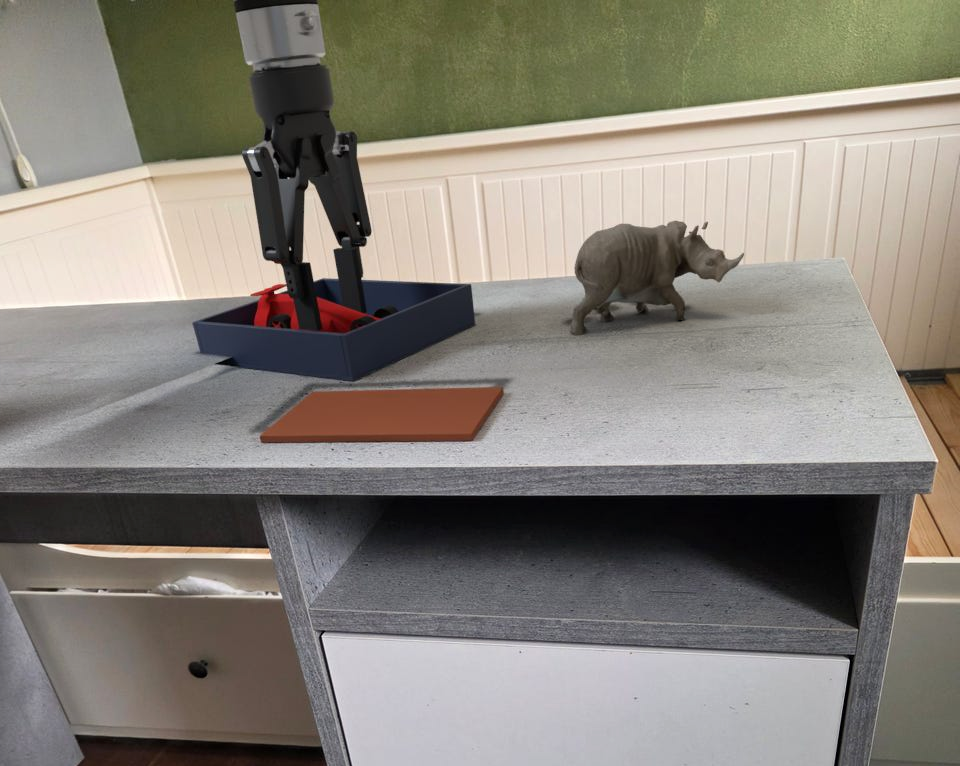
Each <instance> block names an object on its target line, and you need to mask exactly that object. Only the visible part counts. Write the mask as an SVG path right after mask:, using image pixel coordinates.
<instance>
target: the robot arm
mask: <svg viewBox="0 0 960 766" xmlns="http://www.w3.org/2000/svg"><path fill="white" fill-rule="evenodd" d="M135 1H137V0H131V2H135ZM318 4H319V3H318V0H233V6H234V12H235V16H236V20H237V25H238V31H239V37H240V41H241V47H242V51H243V57H244V62H245V64H247V65H248V66H252V70H253V72H250V74H249V75H250V77H248V82H249V85H250V91H251V95H252V101H253V106H254V111H255V114H256V116H258V117H259V118H260V119H261V120H262V123H263V134H262V141H261V142H260V143H258V144H256V145H255V146H251V147H249V146H247V147H243V149H242V151H241V156H242V159H243V161H244V164H245V166H246V169H247V171H248V174H249V176H250V183H251V189H252V194H253V201H254V207H255V215H256V220H257V228H258V234H259V239H260V246H261V247H260V248H261V251H262V252H261V254H262V257H263V259H264V260H265V261H267V262H273V263H274V264H276V265H280V266H281V268H282V271H283V277H284V280H285V284H286V286H285V287H286V291H288V294H289V296H290V298H293V300H294V305H295V310H296V315H297V320H298V325H299V329H304V330H315V331H318V330H321V329H323V328H322V323H321V318H320V312H319V307H318V302H317V296H316V291H315V286H314V281H315V280H314V276H313V271H312V266H311V265H312V264H311V262H308V261H307V262H304V237H305V236H304V233H305V232H304V230H305V201H306V200H305V197H306V196H305V195H306V190H307V189H308V188H309V184H312V185H313V186H314V188H315V190H316V193H317V195H318V197H319V200H320V202H321V205H322V207H323V210H324V213H325V215H326V217H327V220H328V222H329V225H330V227H331V230H332V232H333V235H334V237H335V239H336V242H337V244H338V246H339V247H336V248H334V249H332V250H333V257H334V262H335V268H336V273H337V274H336V275H337V279H338V280H339V285H340V291H341V297H342V303H343V306H344V307H347V308H350V309H352V310H355V311H358V312H361V313H366V312H367V310H366V304H365V298H364V292H363V285H362V280H363V279H362V278H364V268H363V262H362V256H361V250H360V248H364V247H366V246H367V243H368V239H367V238H369V237H371V236H372V231H373V230H372V224H371V221H370V215H369V210H368V206H367V200H366V195H365V190H364V185H363V180H362V175H361V170H360V166H359V162H358V136H357V133H356V132H355V131H352V130H351V131H339V130H337V129H336V128H335V125H334V123H333V121H332V119H331V116H330V112H331V110H332V109H333V108H334V106H335V98H334V92H333V87H332V79H331V73H330V68H327V65H326V64H321V58H324V57H325V56H326V54H327V52H326V45H325V39H324V35H323V34H324V33H323V27H322V21H321V15H320V8H319V5H318ZM309 182H310V183H309Z"/></svg>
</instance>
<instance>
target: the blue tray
mask: <svg viewBox="0 0 960 766" xmlns="http://www.w3.org/2000/svg"><path fill="white" fill-rule="evenodd" d="M313 281H314V286H315V291H316V296H317V297H318V298H321V299H324V300H327V301H330V302H333V303H336V304H338V305H341V306H343V303H342V297H341V291H340V285H339V280H338V278H327V277H322V278H320V279H317V280H313ZM362 285H363V292H364V298H365V304H366V310H367V312H366V313H364V314H366V315H370V316H373V315H374V313H375V312H376V310H378V309H380V308H382V307H384V306H387V305H390V306H393V307H395V308H396V309H397V310H398V311H399V312H397V313H394V314H392V315H389V316H387V317H384V318H382V319H379V320H377V321H375V322H372V323H370V324H367V325H365V326H362V327H360V328H357V329H355V330H352V331H350V332H347V333H345V334H344V333H333V332H321V331H309V330H297V329H285V328H274V327H262V326H255V325H254V321H255V316H256V313H257V309H258V301H259V299H257V300H254V301H251V302H248V303H245V304H242V305H239V306H235V307H234V308H231V309H227V310H224V311H221V312H219V313H216V314H212V315H209V316H207V317H204V318H200V319H197V320H195V321H192V322H191V323H192V327H193V331H194V334H195V338H196V341H197V345H198V349H199V352H200V354H204V355H212V356H213V355H214V356H222V357H228V358H226V359H223V360H221V361H218V362H215V363H214V365H219V366H225V367H226V366H227V367H234V368H240V369H241V368H242V369H250V370H259V371H267V372H275V373H283V374H291V375H299V376H308V377H315V378H323V379H332V380H339V381H346V382H347V381H349V382H356V381H358V380H360V379H362V378H364V377H366V376H368V375H370V374H373V373H374V372H377V371H379V370H382V369H383V368H386V367H388V366H390V365H392V364H394V363H396V362H399V361H400V360H403V359H405V358H407V357H409V356H411V355H414V354H416V353H418V352H420V351H422V350H424V349H426V348H429V347H431V346H434V345H435V344H438V343H439V342H442V341H444V340H447V339H448V338H450V337H453V336H455V335H457V334H459V333H461V332H463V331H465V330H468V329H470V328H472V327H475V326H476V317H475V307H474V298H473V289H472V284H471V283H451V282H425V281H403V280H402V281H401V280H399V281H398V280H375V279H362ZM277 294H288V291H287V290H284V291H281V292H278V293H277Z"/></svg>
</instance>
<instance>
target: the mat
mask: <svg viewBox="0 0 960 766" xmlns="http://www.w3.org/2000/svg"><path fill="white" fill-rule="evenodd" d="M504 391H505V390H504V386H485V387H483V386H481V387H479V386H478V387H445V388H444V387H443V388H440V387H439V388H409V389H408V388H401V389H399V388H398V389H365V390H364V389H363V390H362V389H360V390H359V389H357V390H356V389H355V390H324V391H323V390H322V391H321V390H320V391H319V390H318V391H316V390H315V391H311V392H310V393H308V394H307V395H306V396H305V397H304V398H302V400H301V401H299V402H298V403H297V404H296V405H294V406H293V407H292V408H291V409H289V410H288V411H287V412H286V413H285V414H283V416H281V417H280V418H278V420H276V421H275V422H274V423H273V424H271V426H269V427H268V428H266V430H265V431H263V432H262V433H261V434H259V440H260V443H341V442H342V443H350V442H353V443H355V442H356V443H357V442H361V443H362V442H367V443H368V442H463V441H464V442H467V441H468V442H471V441H473V440H474V438H475V437H476V435H477V434H478V433H479V431H480V429H481V428H482V426H483V425H484V424H485V422H486V420H487V419H488V418H489V416H490V415H491V413H492V411H493V410H494V409H495V407H496V406H497V404H498V402H499V401H500V400H501V398H502V396H503V395H504Z"/></svg>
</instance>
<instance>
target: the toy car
mask: <svg viewBox="0 0 960 766" xmlns="http://www.w3.org/2000/svg"><path fill="white" fill-rule="evenodd" d="M286 287H287V286H286V283H278V284H275V285H272V286H271V287H267V288H264V289H263V290H260V291H256V292H253V293H251V294H250V297H259V299H258V300H259V301H258V309H257V313H256V316H255V321H254V325H255V326H262V327H274V328H285V329H297V330H304V329H299V325H298V320H297V315H296V310H295V305H294V300H293V298H290V296H289V294H278V293H275V292H276V291H279V290H280V289H283V288H286ZM317 302H318V307H319V312H320V318H321V323H322V328H323V329H321V330H318V331H321V332H333V333H344V334H345V333H347V332H350V331H352V330H355V329H357V328H360V327H362V326H365V325H367V324H370V323H372V322H375V321H377V320H379V319H382V318H384V317H387V316H389V315H392V314H394V313H397V312H399V311H398V310H397V309H396V308H395V307H393V306H390V305H387V306H384V307H382V308H380V309H378V310H376V312H375V313H374V315H373V316H370V315H366V314H364V313H361V312H358V311H355V310H352V309H350V308H347V307H344V306H341V305H338V304H336V303H333V302H330V301H327V300H324V299H321V298H318V297H317ZM309 331H315V330H309Z"/></svg>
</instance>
